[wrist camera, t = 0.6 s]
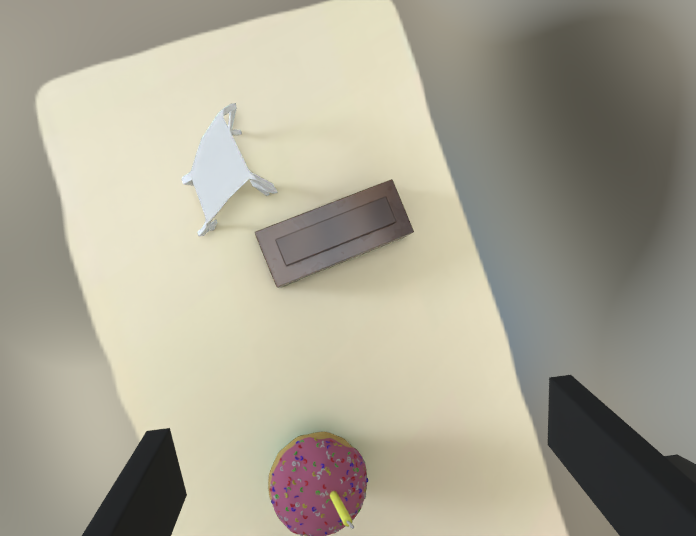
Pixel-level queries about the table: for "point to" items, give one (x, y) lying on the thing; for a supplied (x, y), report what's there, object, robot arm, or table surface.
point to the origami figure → (220, 168)
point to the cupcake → (317, 484)
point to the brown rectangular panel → (334, 233)
